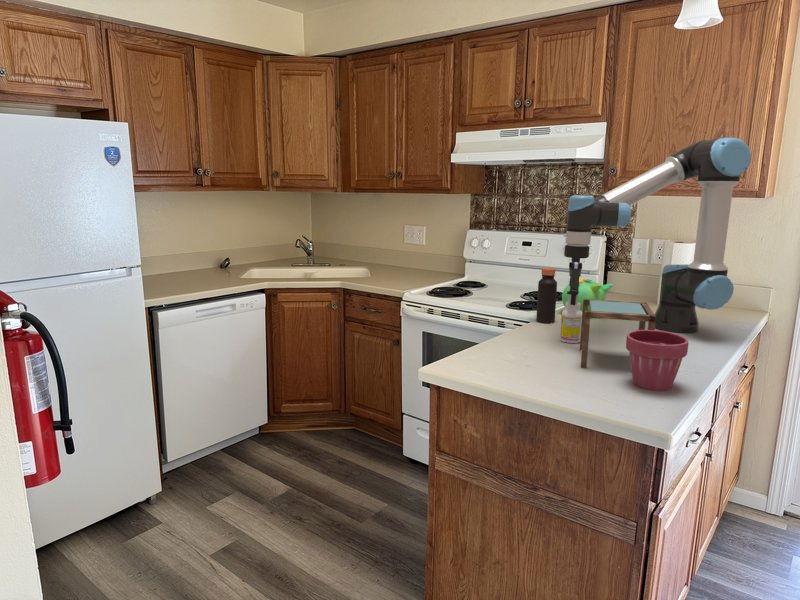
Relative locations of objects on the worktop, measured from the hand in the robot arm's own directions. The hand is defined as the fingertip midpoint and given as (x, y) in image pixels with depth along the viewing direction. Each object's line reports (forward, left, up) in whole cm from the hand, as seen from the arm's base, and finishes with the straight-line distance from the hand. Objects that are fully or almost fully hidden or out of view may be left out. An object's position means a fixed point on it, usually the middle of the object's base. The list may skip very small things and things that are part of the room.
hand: (571, 310), depth 178 cm
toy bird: (-5, -42, -11) cm, 44 cm away
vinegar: (+9, -25, -11) cm, 29 cm away
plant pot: (-20, +36, -11) cm, 43 cm away
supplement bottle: (0, 0, -11) cm, 11 cm away
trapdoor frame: (-12, +18, -10) cm, 24 cm away
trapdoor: (-12, +18, +5) cm, 22 cm away
